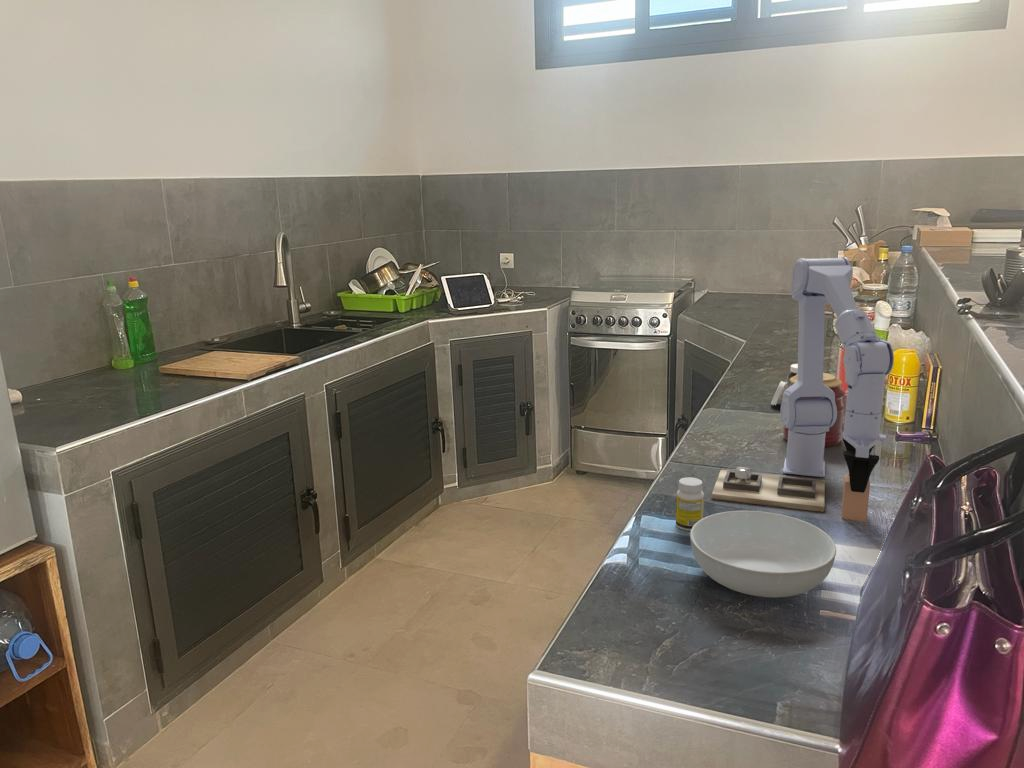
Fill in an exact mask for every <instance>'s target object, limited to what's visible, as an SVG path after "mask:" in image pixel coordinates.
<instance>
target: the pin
mask: <svg viewBox="0 0 1024 768" xmlns="http://www.w3.org/2000/svg"><path fill="white" fill-rule="evenodd" d="M734 471H735V482H736V483H745V484H751V473H752V469H751V468H750V467H745V466H738V467H736V468H735V470H734Z"/></svg>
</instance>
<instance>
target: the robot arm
mask: <svg viewBox="0 0 1024 768" xmlns="http://www.w3.org/2000/svg"><path fill="white" fill-rule="evenodd" d="M853 271H854V269H853V265H852V262H851V261H850V259H849V258H848V257H846V256H844V257H832V258H831V257H829V258H827V257H825V258H804V257H800V258H798V259H797V260H796V262H795V263H794V265H793V267H792V269H791V285H790V286H791V290H790V291H791V299H793V300H795V301H797V302H798V330H797V331H798V332H797V334H798V335H797V336H798V337H797V338H798V339H797V340H798V341H797V345H798V346H797V364H798V379H797V382H796V383H794V384H793V385H792V386H790V387H789V388H787V389H786V390H785V389H784V390H783V392H782V401H781V404H780V410H779V411H780V412H779V413H780V419H781V423H782V424H783V425H785V427H786V428H789V429H788V441H787V445H786V457H785V458H784V463H783V469H782V473H783V474H786V475H787V474H789V475H796V476H797V475H798V476H799V475H800V476H807V477H817V478H825V476H826V475H825V473H826V472H825V470H826V461H825V460H824V457H825V447H824V446H825V434H826V432H827V431H829V427H832V426H833V425H834V423H835V421H836V418H837V407H836V404H835V393H834V392H833V391H832V390H831V389H830V388H829V387H827V386H826V385H825V384H823V373H824V361H825V360H824V358H825V357H824V355H825V354H824V353H825V317H826V316H825V315H826V312H825V311H826V305H827V304H829V306H830V308H832V311H833V313H834V314H835V316H836V317H837V318H836V320H835V322H834V328H835V330H836V333H837V336H838V338H839V340H840V342H841V345H842V347H843V349H844V355H843V366H844V371H845V373H844V374H845V376H844V380H845V383H846V384H847V391H846V400H845V401H846V402H845V413H844V424H843V425H844V427H843V431H842V434H841V435H842V437H841V439H842V442H843V444H844V447H845V450H843V454H842V455H843V458H844V460H845V463H846V465H847V470H848V475H849V478H850V488H851V491H852V492H861V493H864V492H865V489H866V487H867V484H868V480H869V481H870V477H871V474H872V472H873V470H874V468H875V467H876V466H877V464H878V463H879V461H880V455H874V454H871V453H872V451H873V449H874V448H875V446H876V445H877V444H878V443H879V442H885V443H886V442H887V439H888V438H887V435H885V434H882V433H881V421H882V411H883V403H884V402H883V400H884V392H885V391H884V390H885V380H886V379H885V378H886V375H887V376H888V375H889V374H890V373H891V372H892V370H893V367H894V363H895V357H894V356H895V354H894V350H893V347H892V345H891V343H890V342H889V341H888V340H885V339H884V337H879V335H877V332H876V330H875V328H874V327H873V324H872V322H871V320H870V317H869V315H868V314H867V312H865V311H864V310H861V309H858V306H857V304H856V301H855V297H854V295H853V291H852V288H851V284H852V281H853V276H854V272H853ZM799 397H822V398H799Z"/></svg>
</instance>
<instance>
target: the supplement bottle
mask: <svg viewBox="0 0 1024 768" xmlns="http://www.w3.org/2000/svg"><path fill="white" fill-rule="evenodd" d="M675 499H676V500H675V504H676V505H675V525H676V528H678V529H680V530H683V531H687V532H691V529H692V527H693V526H694V525H695V524H696V523H697V522H698V521H699V520H701V519H703V518H704V511H705V510H704V509H705V493H704V492H703V481H702V480H701V479H700V478H698V477H697V478H696V477H691V476H689V477H688V476H686V477H681V478H680V479H679V480H678V490H677V491H676V498H675Z"/></svg>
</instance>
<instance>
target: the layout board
mask: <svg viewBox="0 0 1024 768" xmlns="http://www.w3.org/2000/svg"><path fill="white" fill-rule="evenodd" d="M825 485H826V482H825V480H821V479H814V478H803V477H794V476H785V475H784V476H783V475H776V474H775V475H774V474H768V473H767V474H765V473H758V472H756V473H755V472H751V484H745V483H736V482H735V470H730V469H729V470H728V469H720V471H719V473H718V477H717V478H716V481H715V484H714V487H713V490H712V492H711V499H712V500H713V499H714V500H720V501H727V502H728V501H730V502H738V503H745V504H755V505H764V506H771V507H779V508H787V509H795V510H806V511H813V512H819V511H820V512H821V513H825V498H826V497H825V493H826V492H825V487H826V486H825Z"/></svg>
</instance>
